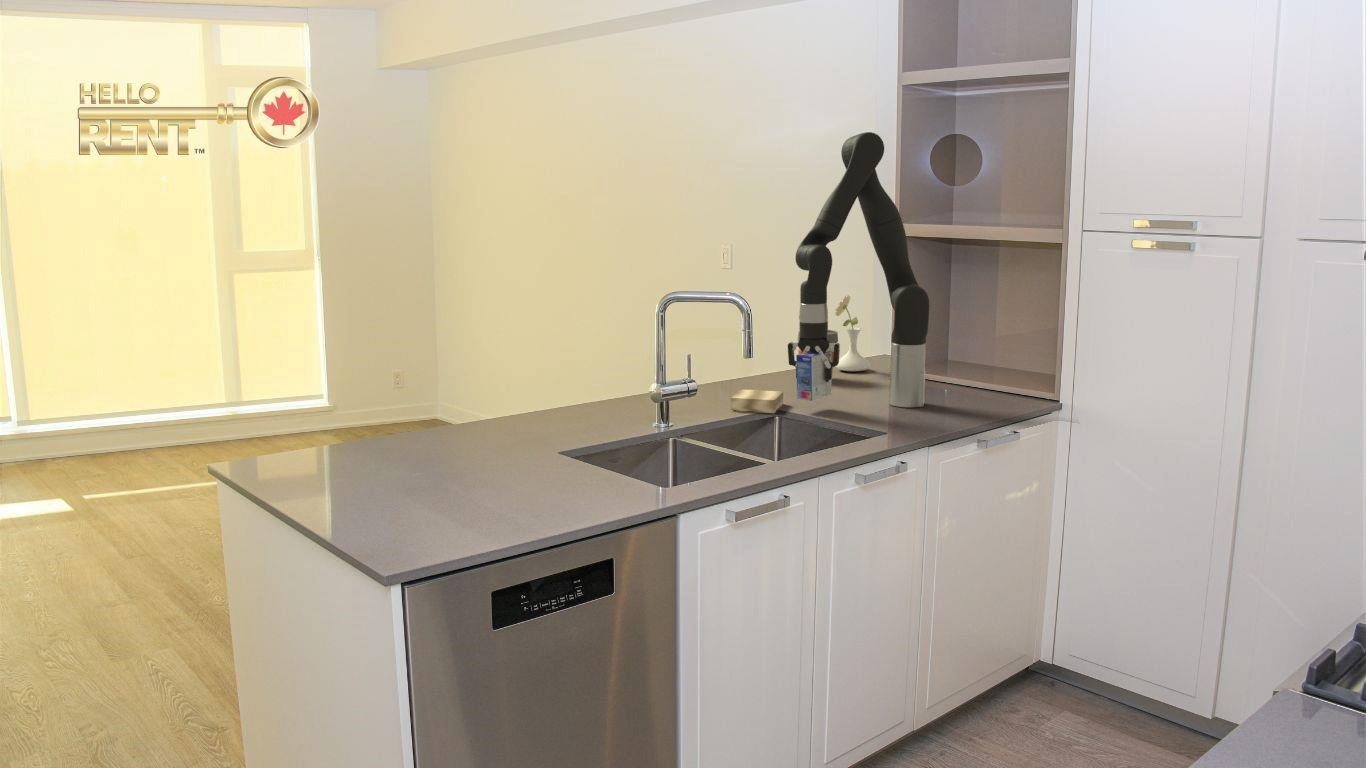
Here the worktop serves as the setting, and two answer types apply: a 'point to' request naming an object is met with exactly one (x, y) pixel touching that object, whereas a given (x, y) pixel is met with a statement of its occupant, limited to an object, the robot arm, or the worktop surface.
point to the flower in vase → (851, 343)
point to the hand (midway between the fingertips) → (813, 381)
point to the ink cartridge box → (812, 376)
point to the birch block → (757, 401)
